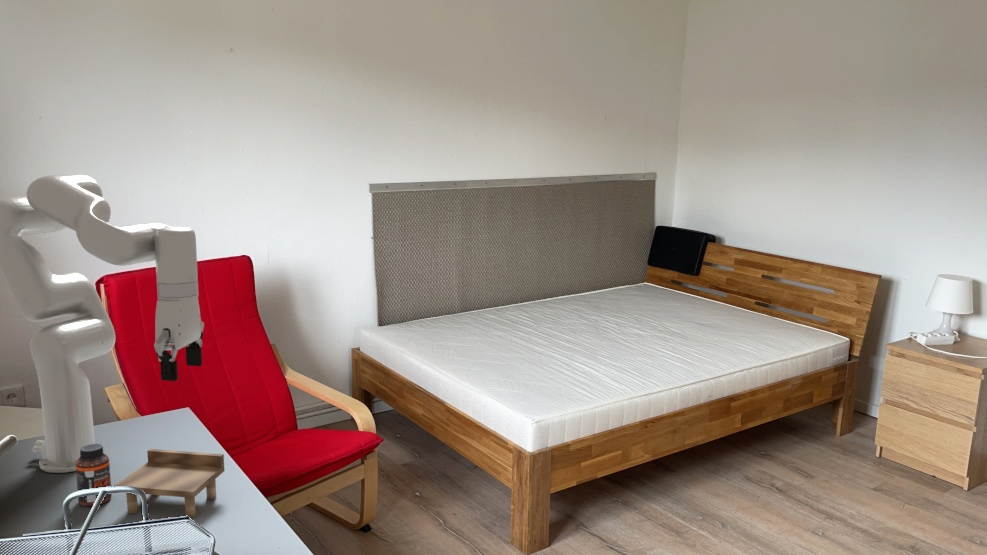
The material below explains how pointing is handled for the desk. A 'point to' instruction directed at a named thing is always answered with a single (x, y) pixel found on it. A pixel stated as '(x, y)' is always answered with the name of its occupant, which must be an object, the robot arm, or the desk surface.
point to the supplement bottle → (92, 472)
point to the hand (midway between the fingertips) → (182, 372)
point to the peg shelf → (175, 477)
